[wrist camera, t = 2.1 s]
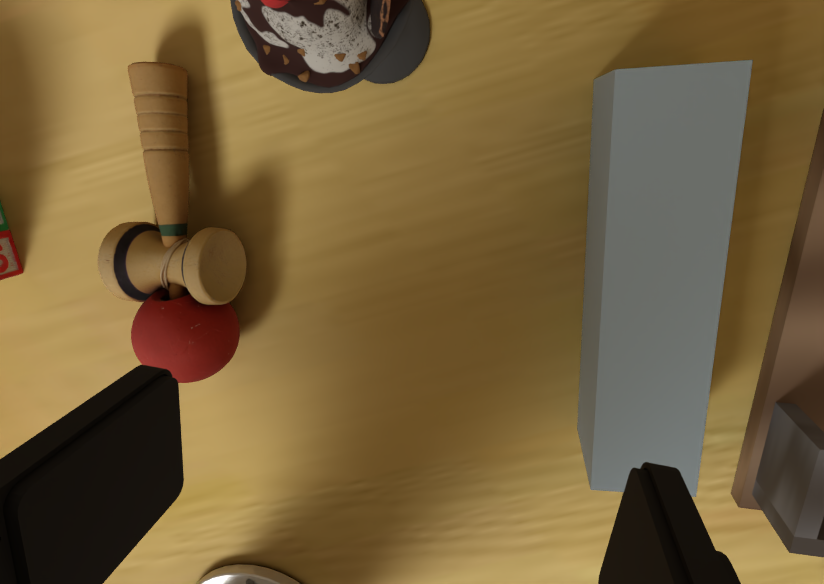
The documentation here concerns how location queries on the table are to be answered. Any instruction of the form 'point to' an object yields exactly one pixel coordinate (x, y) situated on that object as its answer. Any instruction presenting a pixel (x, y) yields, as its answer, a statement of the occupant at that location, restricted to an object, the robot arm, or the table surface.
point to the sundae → (334, 40)
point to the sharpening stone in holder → (792, 390)
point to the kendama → (173, 246)
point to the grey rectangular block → (656, 262)
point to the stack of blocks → (7, 251)
